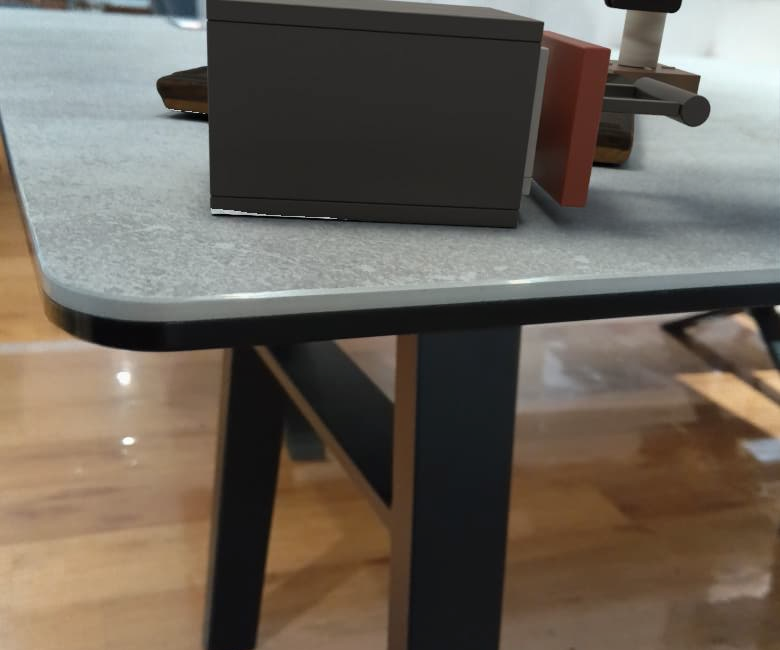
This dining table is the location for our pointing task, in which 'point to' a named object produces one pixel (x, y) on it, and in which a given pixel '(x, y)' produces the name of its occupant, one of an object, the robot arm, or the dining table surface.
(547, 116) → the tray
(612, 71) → the panel
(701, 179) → the dining table surface
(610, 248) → the dining table surface
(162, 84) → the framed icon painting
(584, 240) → the dining table surface
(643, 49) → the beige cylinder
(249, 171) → the dark grey lidded box
